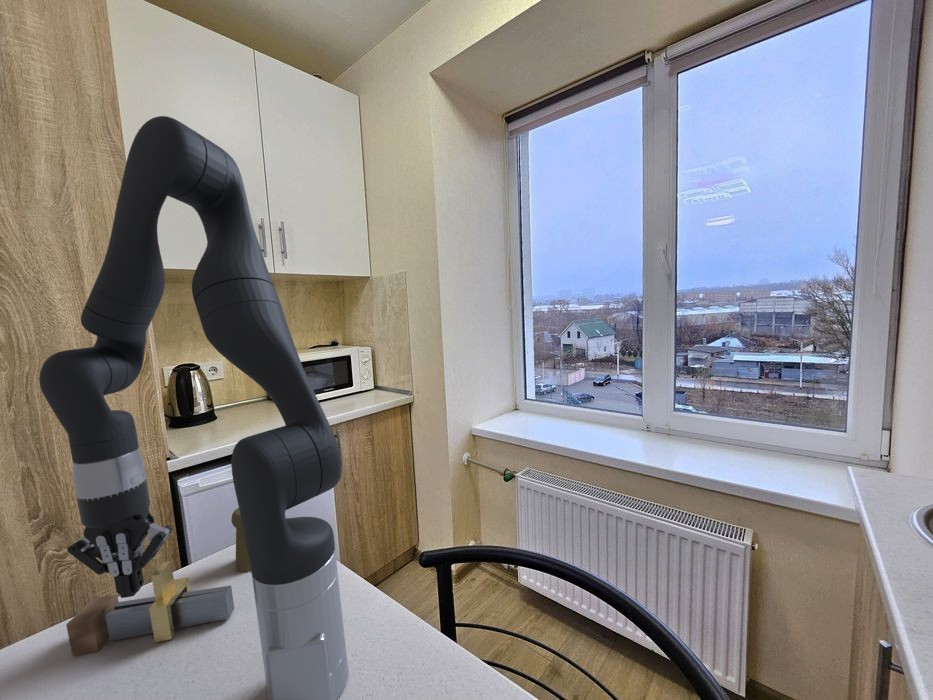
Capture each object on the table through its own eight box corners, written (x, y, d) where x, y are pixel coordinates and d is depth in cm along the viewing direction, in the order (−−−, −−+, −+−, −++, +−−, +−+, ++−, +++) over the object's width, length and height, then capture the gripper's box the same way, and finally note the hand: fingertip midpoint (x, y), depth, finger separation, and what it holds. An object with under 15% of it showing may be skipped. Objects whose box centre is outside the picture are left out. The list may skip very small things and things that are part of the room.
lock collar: (154, 642, 56) (144, 582, 55) (178, 610, 62) (169, 556, 61) (171, 639, 57) (161, 579, 55) (193, 608, 62) (184, 553, 61)
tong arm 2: (118, 631, 58) (113, 606, 58) (123, 625, 59) (118, 601, 59) (231, 613, 61) (228, 589, 60) (234, 608, 61) (231, 585, 61)
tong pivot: (72, 656, 55) (66, 624, 54) (99, 627, 60) (93, 598, 59) (98, 651, 55) (92, 620, 55) (122, 623, 60) (117, 594, 60)
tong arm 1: (109, 640, 57) (105, 616, 56) (114, 635, 58) (110, 610, 57) (229, 618, 60) (225, 594, 59) (231, 613, 61) (228, 589, 60)
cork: (227, 569, 72) (219, 514, 71) (253, 549, 78) (246, 497, 76) (253, 574, 70) (245, 517, 69) (278, 553, 76) (271, 500, 75)
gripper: (177, 468, 61) (192, 569, 63) (81, 478, 59) (100, 583, 61) (146, 490, 53) (164, 604, 55) (35, 502, 51) (59, 621, 53)
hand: (131, 593), depth 58 cm, fingers closed
